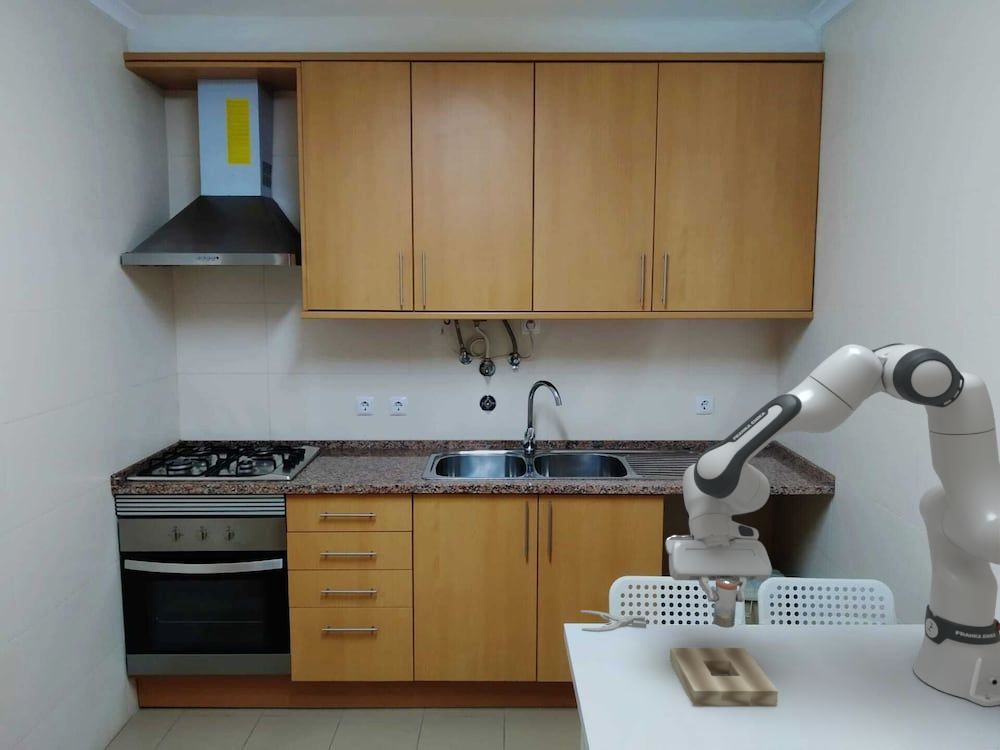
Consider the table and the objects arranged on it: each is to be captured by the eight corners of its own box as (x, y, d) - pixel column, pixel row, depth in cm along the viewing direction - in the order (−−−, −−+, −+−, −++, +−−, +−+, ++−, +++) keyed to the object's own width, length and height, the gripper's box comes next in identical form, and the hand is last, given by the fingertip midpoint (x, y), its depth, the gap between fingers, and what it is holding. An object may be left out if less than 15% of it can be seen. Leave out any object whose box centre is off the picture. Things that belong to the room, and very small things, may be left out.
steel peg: (730, 618, 140) (733, 575, 139) (737, 627, 136) (741, 584, 135) (710, 617, 140) (713, 575, 138) (717, 627, 136) (720, 583, 134)
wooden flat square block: (743, 661, 147) (744, 647, 147) (776, 705, 131) (777, 691, 131) (669, 660, 147) (670, 647, 146) (693, 705, 131) (694, 691, 130)
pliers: (580, 606, 168) (643, 610, 167) (580, 612, 169) (642, 616, 167) (582, 625, 159) (648, 629, 157) (582, 632, 159) (648, 636, 158)
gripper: (667, 528, 142) (678, 594, 133) (765, 529, 143) (782, 595, 134) (660, 541, 147) (670, 606, 138) (755, 542, 148) (771, 607, 139)
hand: (726, 601), depth 136 cm, fingers closed on steel peg, 4 cm apart
